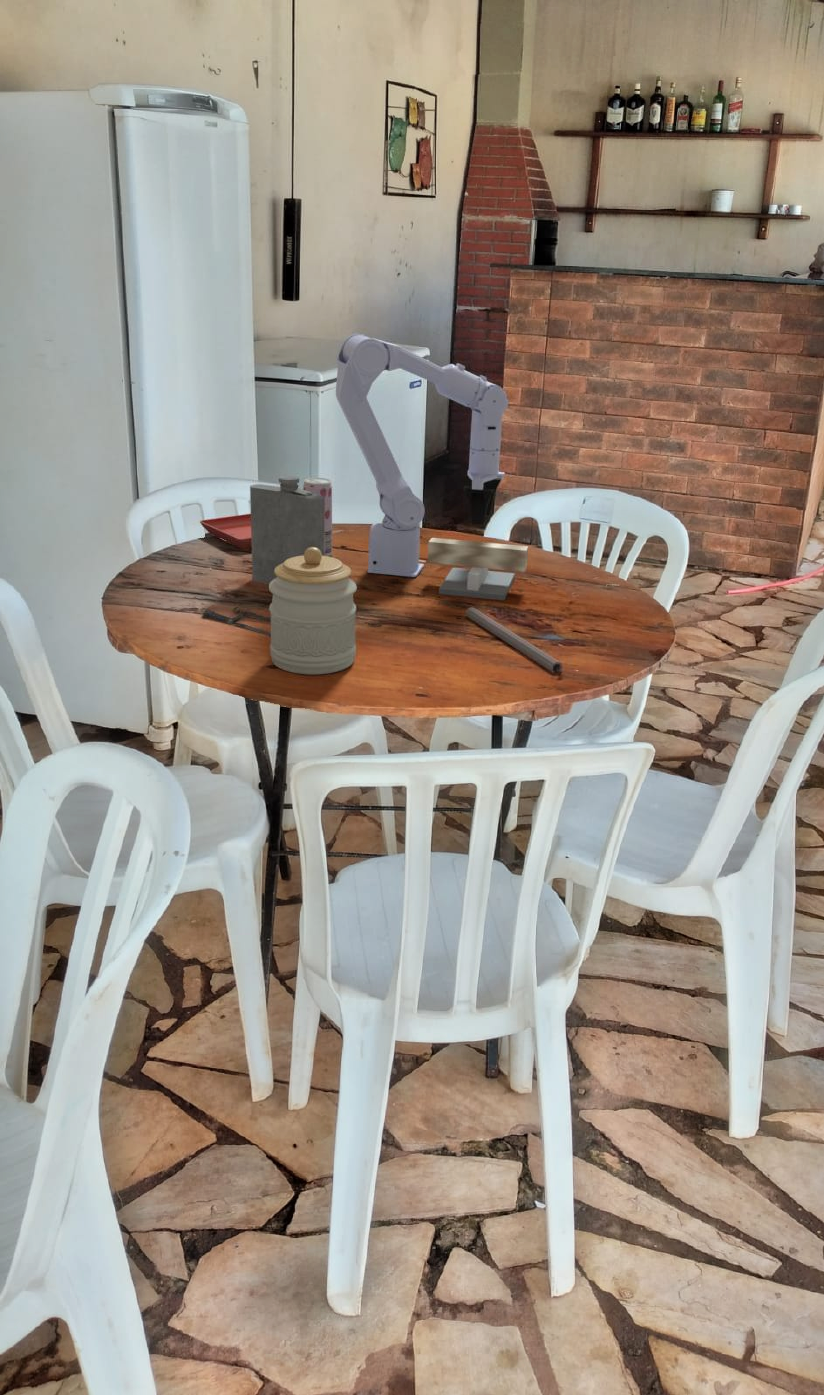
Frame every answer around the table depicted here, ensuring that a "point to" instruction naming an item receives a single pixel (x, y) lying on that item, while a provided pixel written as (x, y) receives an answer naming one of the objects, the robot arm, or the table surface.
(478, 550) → the birch beam
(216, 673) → the table surface
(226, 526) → the plant saucer
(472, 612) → the metal rod
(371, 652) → the table surface
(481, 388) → the robot arm
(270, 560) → the hip flask
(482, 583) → the grey stepped base
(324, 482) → the beverage can
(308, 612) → the jar
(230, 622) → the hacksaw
